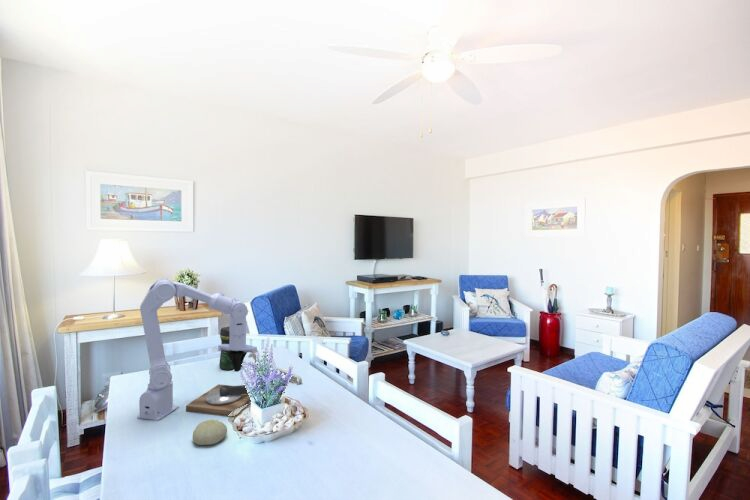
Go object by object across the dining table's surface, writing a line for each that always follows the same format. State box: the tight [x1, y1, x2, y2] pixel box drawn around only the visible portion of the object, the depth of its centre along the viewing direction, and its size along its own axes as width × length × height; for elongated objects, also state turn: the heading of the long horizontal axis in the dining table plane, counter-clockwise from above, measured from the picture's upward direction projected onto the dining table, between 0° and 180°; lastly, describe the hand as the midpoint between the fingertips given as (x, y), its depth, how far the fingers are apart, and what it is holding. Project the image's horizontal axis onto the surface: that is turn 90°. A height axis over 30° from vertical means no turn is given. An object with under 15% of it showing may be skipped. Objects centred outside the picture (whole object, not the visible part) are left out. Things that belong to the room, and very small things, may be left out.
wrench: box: [247, 351, 303, 385], centre depth 153 cm, size 8×2×30 cm
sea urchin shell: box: [192, 419, 228, 446], centre depth 106 cm, size 9×8×8 cm
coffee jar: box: [219, 325, 244, 371], centre depth 163 cm, size 10×8×19 cm
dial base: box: [185, 383, 251, 417], centre depth 129 cm, size 18×18×2 cm
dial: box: [206, 384, 248, 405], centre depth 128 cm, size 14×12×4 cm
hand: (237, 370), depth 134 cm, fingers closed
